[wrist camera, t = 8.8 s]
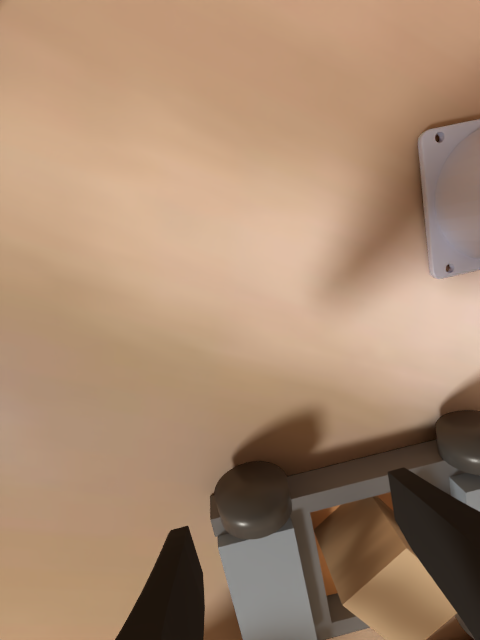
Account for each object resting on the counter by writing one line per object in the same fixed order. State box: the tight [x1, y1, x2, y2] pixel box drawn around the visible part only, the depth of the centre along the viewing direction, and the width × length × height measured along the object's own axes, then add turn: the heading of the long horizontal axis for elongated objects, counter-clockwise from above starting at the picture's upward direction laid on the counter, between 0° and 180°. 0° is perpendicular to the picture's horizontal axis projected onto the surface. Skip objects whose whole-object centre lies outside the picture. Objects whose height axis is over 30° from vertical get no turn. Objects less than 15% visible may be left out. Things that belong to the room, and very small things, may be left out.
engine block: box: [314, 496, 457, 640], centre depth 21 cm, size 4×6×5 cm
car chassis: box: [210, 411, 480, 640], centre depth 22 cm, size 19×14×4 cm
